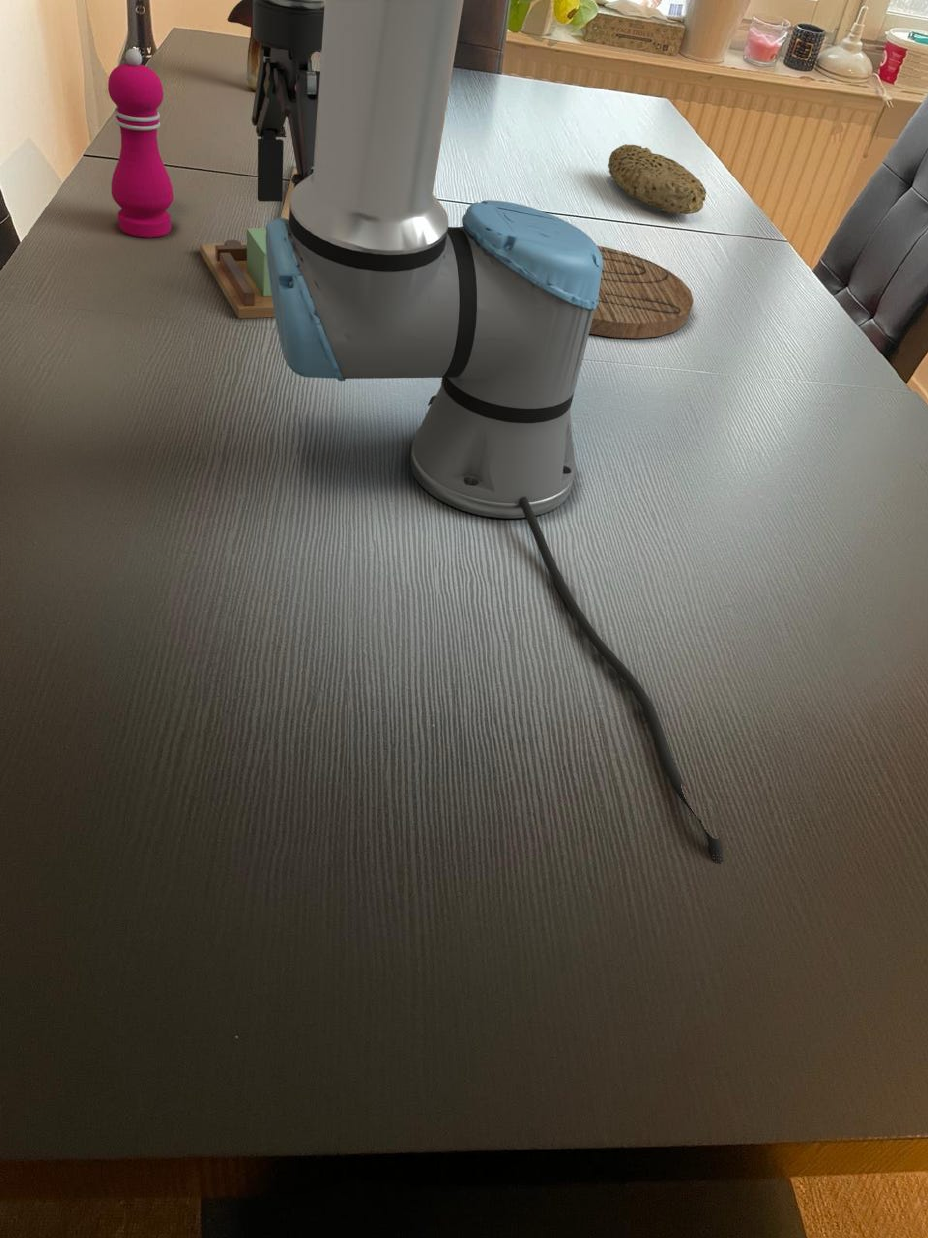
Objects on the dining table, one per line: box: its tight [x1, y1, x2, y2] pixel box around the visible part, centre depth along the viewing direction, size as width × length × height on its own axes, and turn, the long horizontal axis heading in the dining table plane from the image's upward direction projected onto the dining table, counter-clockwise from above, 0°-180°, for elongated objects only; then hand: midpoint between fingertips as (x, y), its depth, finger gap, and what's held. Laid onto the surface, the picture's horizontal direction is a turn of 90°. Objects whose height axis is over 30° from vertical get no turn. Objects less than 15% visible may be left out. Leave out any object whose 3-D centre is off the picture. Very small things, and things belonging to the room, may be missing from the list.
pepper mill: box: [107, 48, 174, 239], centre depth 117 cm, size 7×7×20 cm
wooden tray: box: [199, 239, 275, 320], centre depth 116 cm, size 18×14×3 cm
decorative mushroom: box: [226, 0, 261, 92], centre depth 172 cm, size 11×11×15 cm
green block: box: [246, 227, 272, 297], centre depth 113 cm, size 7×7×5 cm
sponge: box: [607, 143, 707, 215], centre depth 159 cm, size 13×8×20 cm
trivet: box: [589, 245, 695, 339], centre depth 127 cm, size 25×25×2 cm
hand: (287, 221), depth 109 cm, fingers open, 13 cm apart
